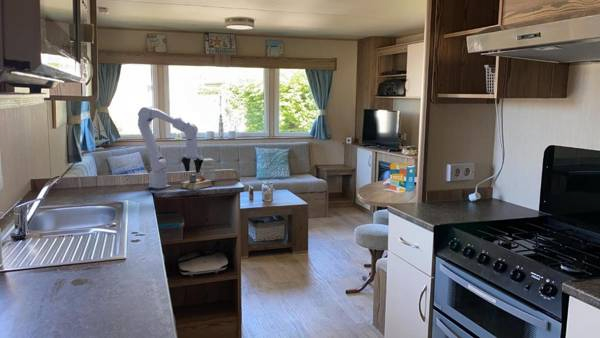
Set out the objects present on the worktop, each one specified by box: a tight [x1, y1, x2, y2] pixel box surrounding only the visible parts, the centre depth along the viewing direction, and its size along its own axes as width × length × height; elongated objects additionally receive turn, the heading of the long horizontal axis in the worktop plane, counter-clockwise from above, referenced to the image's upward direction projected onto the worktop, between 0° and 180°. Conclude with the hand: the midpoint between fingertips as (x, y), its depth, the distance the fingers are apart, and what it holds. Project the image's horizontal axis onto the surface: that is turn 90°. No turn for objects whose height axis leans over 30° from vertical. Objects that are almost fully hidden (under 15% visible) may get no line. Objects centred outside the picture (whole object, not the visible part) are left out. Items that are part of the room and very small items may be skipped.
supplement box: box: [200, 157, 216, 182], centre depth 279 cm, size 7×7×13 cm
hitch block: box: [180, 178, 213, 191], centre depth 261 cm, size 10×13×3 cm
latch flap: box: [196, 174, 206, 180], centre depth 264 cm, size 3×4×1 cm
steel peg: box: [189, 173, 197, 183], centre depth 259 cm, size 4×4×7 cm
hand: (192, 172), depth 258 cm, fingers open, 7 cm apart
